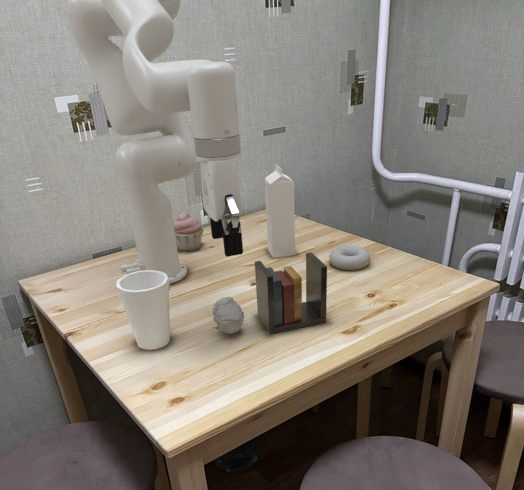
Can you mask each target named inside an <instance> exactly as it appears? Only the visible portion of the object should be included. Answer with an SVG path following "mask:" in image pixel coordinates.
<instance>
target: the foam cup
mask: <svg viewBox="0 0 524 490" xmlns="http://www.w3.org/2000/svg"><path fill="white" fill-rule="evenodd" d="M115 285H116V289H117V294H118V298H119V300H120V301H121V303H122V306H123V309H124V311H125V314H126V317H127V319H128V322H129V325H130V328H131V330H132V334H133V336H134V339H135V341H136V344H137V346H138V348H139V349H142V350H147V351H151V350H152V351H153V350H158V349H162V348H163V347H165V346H166V345H168V344H169V342H170V341H171V339H170V338H171V324H170V323H171V322H170V321H171V320H170V319H171V317H170V291H171V285H170V284H169V279H168V276H167V274H165V273H163V272H161V271H155V270H144V271H137V272H133V273H129V274H127V273H126V274H125V275H122V276H121V277H120V278H119V279H118V280H117V281H116V282H115Z"/></svg>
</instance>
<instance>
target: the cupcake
mask: <svg viewBox="0 0 524 490" xmlns="http://www.w3.org/2000/svg"><path fill="white" fill-rule="evenodd" d="M173 223H174V230H175V237H176V244H177V250H179V251H181V252H191V251H196V250H198V249H199V248H200V247H201V244H202V237H203V234H204V232H205V230H204V227H202V224H201V222H200V221H199V220H198V219H197V217H195V216H193V215H191V214H190V213H188V212H187V211H184V212H181V213H180V214H179V215H178V217H177V219H176V220H175V221H173Z"/></svg>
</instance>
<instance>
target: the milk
mask: <svg viewBox="0 0 524 490" xmlns="http://www.w3.org/2000/svg"><path fill="white" fill-rule="evenodd" d="M264 188H265V189H264V191H265V192H264V193H265V215H266V235H267V236H266V238H267V240H266V241H267V251H268V253H269V254H270V255H271V257H272V258H273V259H275V258H284V257H291V256H295V255H296V229H295V228H296V227H295V226H296V224H295V223H296V221H295V218H296V217H295V181H294V180H292V179H291V177H289V175H287V174H284V173H283V169H282V168H281V167H280V166H279V165H278V164H277V163H276V164H275V170H274V171H272V172H271V173H270V174H269V175H267V176H266V177H264Z"/></svg>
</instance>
